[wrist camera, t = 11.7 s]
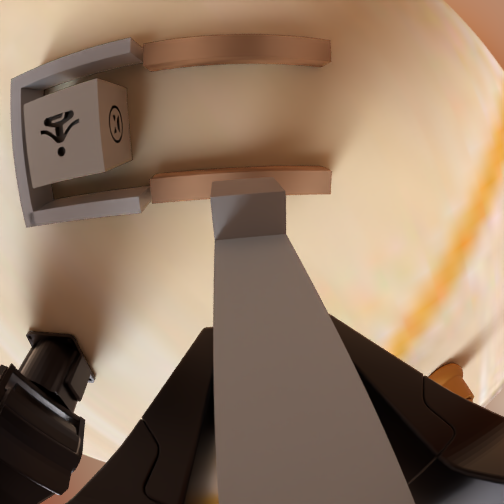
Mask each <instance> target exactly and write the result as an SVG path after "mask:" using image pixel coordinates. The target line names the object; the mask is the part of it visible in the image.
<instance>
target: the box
mask: <svg viewBox="0 0 504 504" xmlns="http://www.w3.org/2000/svg"><path fill="white" fill-rule="evenodd" d="M139 63H143V48H142V47H141V46H139V45H138V44H137V43H136V42H135V41H134V40H133V39H132V38H131V37H130V38H126V39H122V40H117V41H113V42H109V43H106V44H102V45H98V46H95V47H91V48H88V49H85V50H82V51H79V52H76V53H73V54H70V55H67V56H64V57H61V58H59V59H56V60H53V61H51V62H48V63H46V64H43V65H41V66H39V67H36V68H34V69H32V70H29V71H27V72H25V73H23V74H21V75H19V76H17V77H15V78H13V79H11V131H12V145H13V155H14V164H15V171H16V178H17V184H18V190H19V196H20V201H21V206H22V211H23V215H24V220H25V224H26V228H27V227H33V226H40V225H46V224H53V223H61V222H68V221H75V220H83V219H91V218H100V217H108V216H118V215H127V214H137V213H141V212H142V211H143V210H144V209H145V208H146V206H147V205H148V204H149V203H150V202H151V201H152V198H151V190H150V186H143V187H134V188H126V189H118V190H111V191H104V192H97V193H90V194H84V195H78V196H72V197H66V198H60V199H54V198H53V192H52V186H51V184H48V185H44V186H40V187H36V188H33V186H32V181H31V175H30V168H29V161H28V153H27V145H26V134H25V121H24V104H26V103H29V102H31V101H33V100H36V99H38V98H41V97H43V96H44V90H45V89H48V88H50V87H53V86H56V85H59V84H62V83H65V82H68V81H71V80H74V79H77V78H81V77H84V76H87V75H91V74H95V73H98V72H102V71H106V70H110V69H115V68H119V67H124V66H128V65H133V64H139Z"/></svg>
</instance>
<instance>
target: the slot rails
mask: <svg viewBox="0 0 504 504" xmlns="http://www.w3.org/2000/svg"><path fill="white" fill-rule="evenodd" d="M330 62H331V46H330V40H324V39H316V38H308V37H297V36H284V35H263V34H231V35H210V36H197V37H186V38H178V39H170V40H163V41H156V42H150V43H145V44H143V66H144V67H145V68H147V69H148V70H149V71H151V72H152V71H158V70H165V69H173V68H181V67H191V66H202V65H217V64H288V65H303V66H314V67H322V66H324V65H326V64H328V63H330ZM331 175H332V171H331V170H329V169H327V168H324V167H322V166H265V167H238V168H220V169H205V170H192V171H180V172H170V173H160V174H156V175H154V176H153V177H152V178H151V179H149V181H150V190H151V198H152V204H153V203H164V202H175V201H187V200H200V199H210V195H211V188H212V182H214V181H224V180H236V179H249V178H264V177H273V178H274V179H275V180H276V181H277V182H278V183H279V185H280V186H281V187H282V188H283V189H284V190H285V192H286V195H308V194H331Z"/></svg>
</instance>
